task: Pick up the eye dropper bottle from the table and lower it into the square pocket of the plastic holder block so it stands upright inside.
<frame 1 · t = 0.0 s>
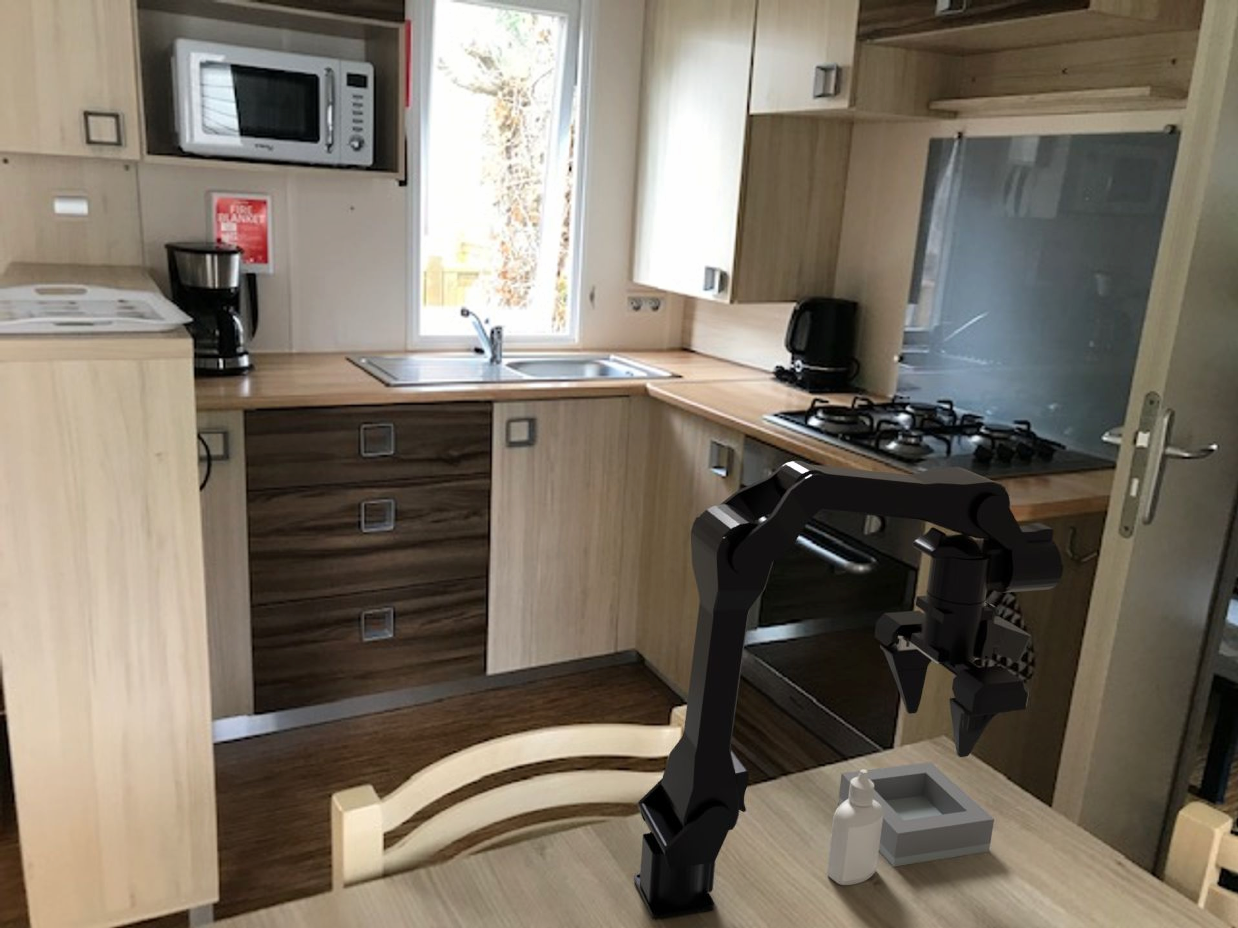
hand: (936, 733, 106), 15 cm above the table, tool pointing down, fingers open, 9 cm apart
holder block: (911, 826, 115), on the table
eye dropper bottle: (851, 874, 106), on the table
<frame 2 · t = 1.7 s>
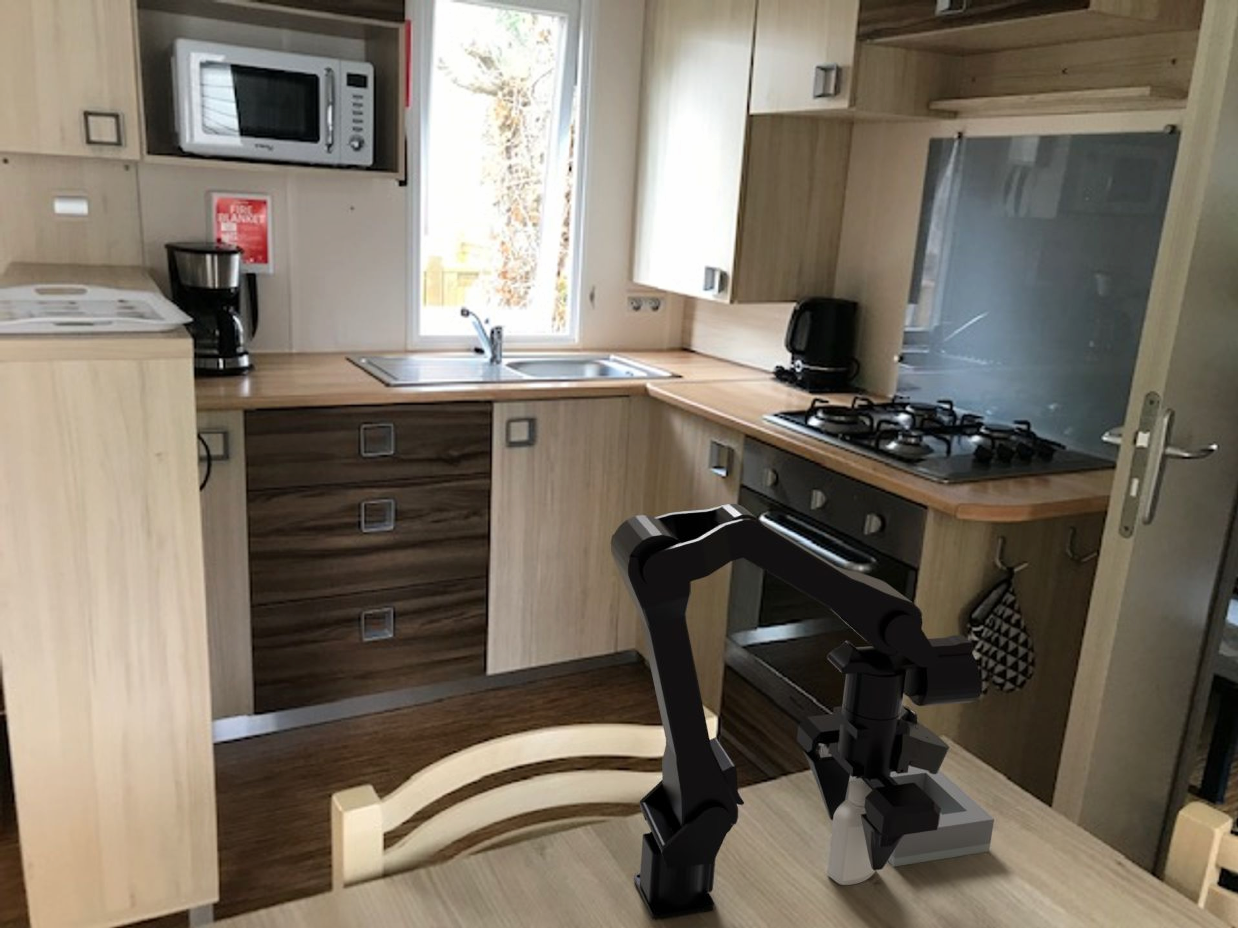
hand: (855, 843, 105), 4 cm above the table, tool pointing down, fingers closed on eye dropper bottle, 8 cm apart
eye dropper bottle: (851, 874, 106), on the table, touching gripper
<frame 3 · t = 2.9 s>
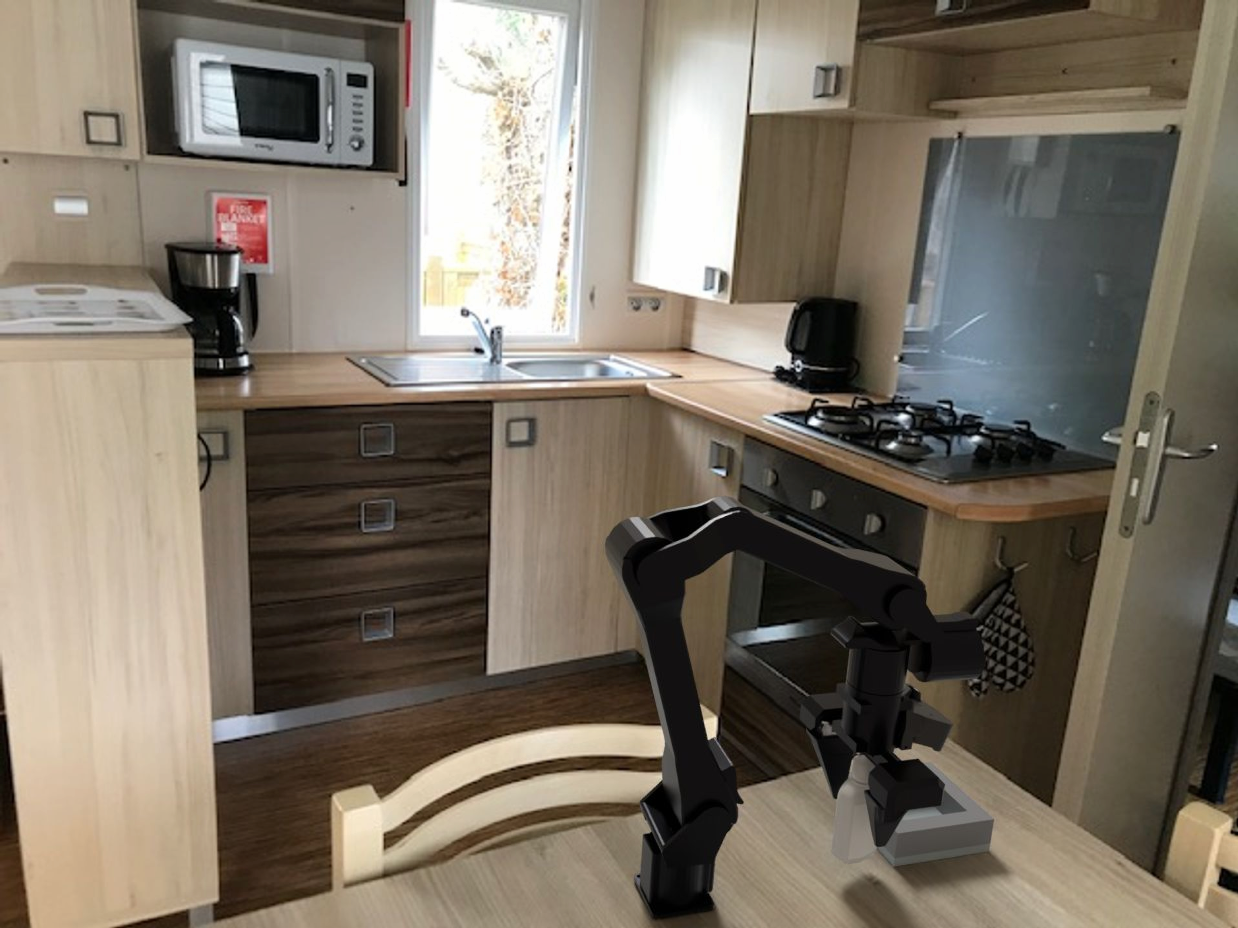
hand: (858, 820, 105), 6 cm above the table, tool pointing down, fingers closed on eye dropper bottle, 8 cm apart
eye dropper bottle: (854, 853, 106), point 2 cm above the table, touching gripper
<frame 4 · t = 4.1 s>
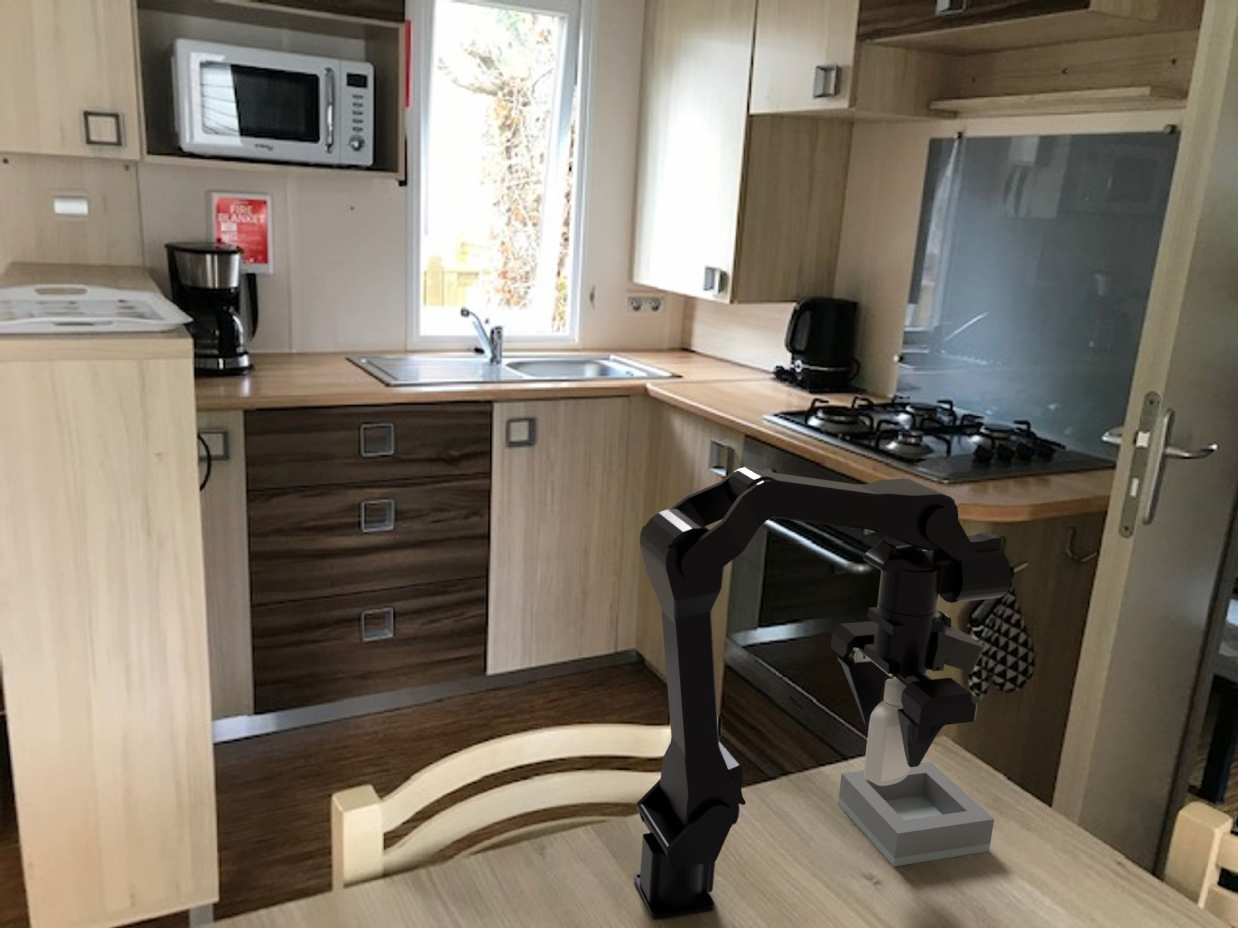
hand: (890, 744, 106), 13 cm above the table, tool pointing down, fingers closed on eye dropper bottle, 8 cm apart
eye dropper bottle: (886, 776, 107), point 10 cm above the table, touching gripper
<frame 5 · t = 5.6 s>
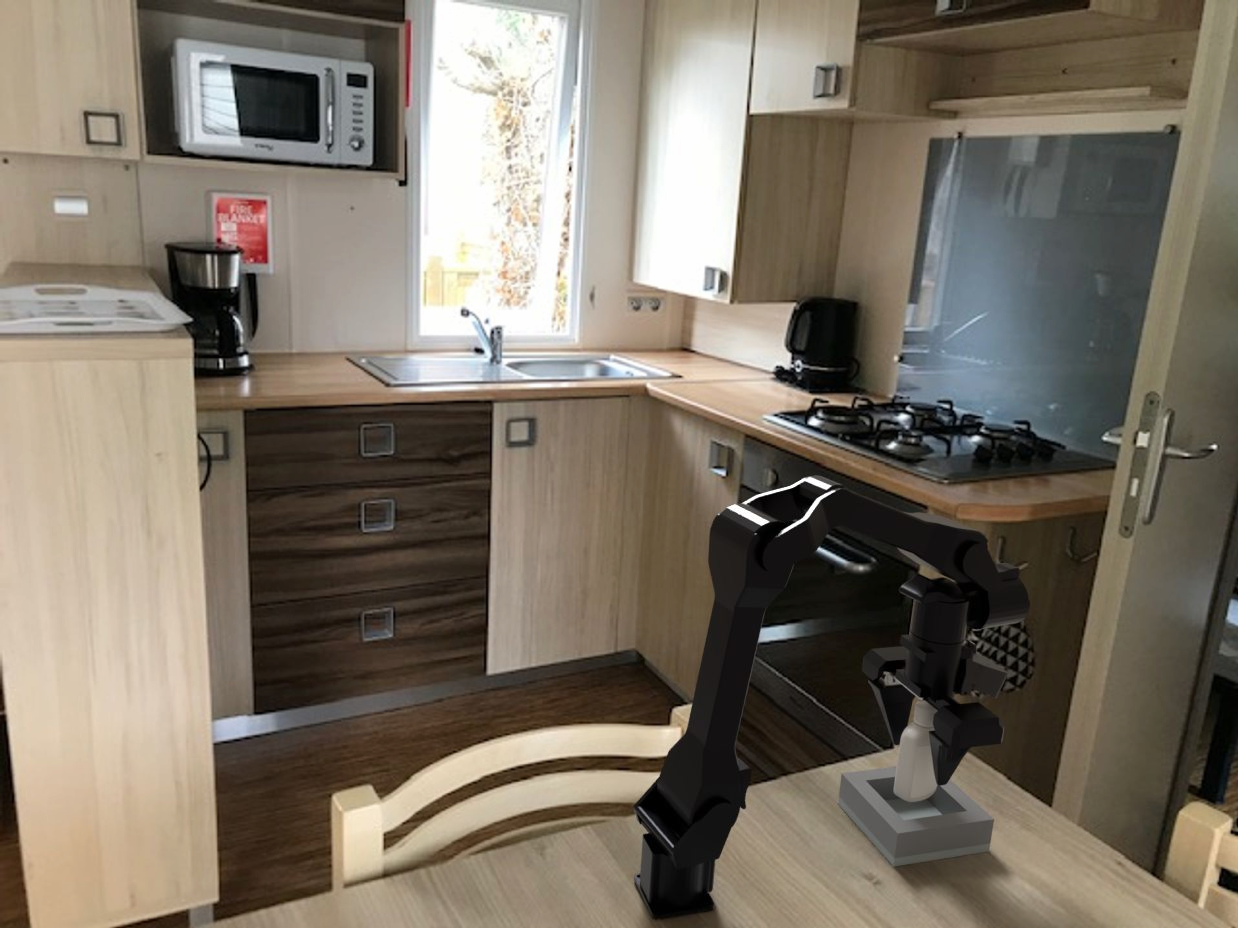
hand: (918, 763, 113), 8 cm above the table, tool pointing down, fingers closed on eye dropper bottle, 8 cm apart
eye dropper bottle: (914, 793, 114), point 4 cm above the table, touching gripper
when the fingers open (5 cm above the table, at t = 6.8 s): eye dropper bottle stays where it is, resting on holder block.
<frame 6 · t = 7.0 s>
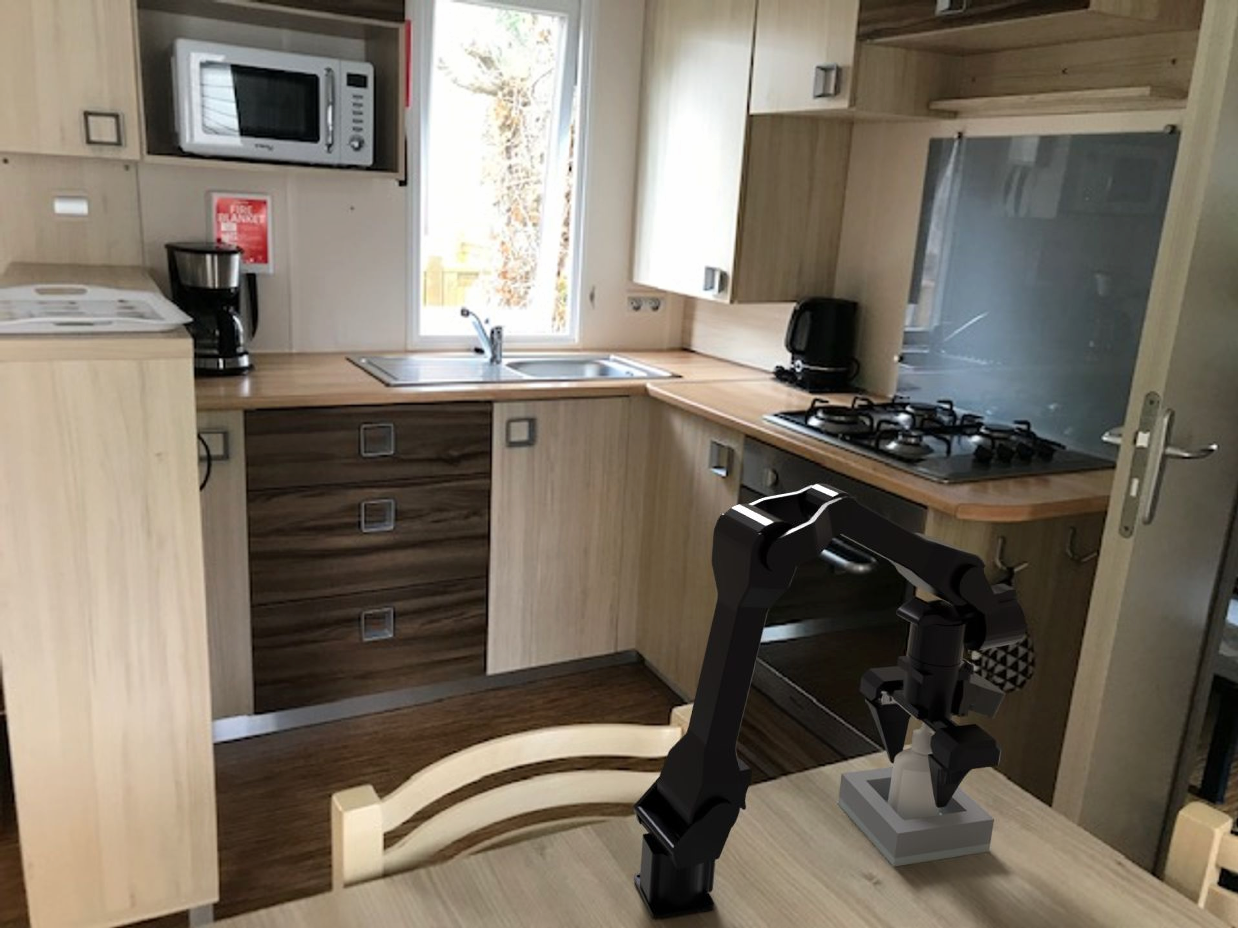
hand: (916, 783, 114), 5 cm above the table, tool pointing down, fingers open, 9 cm apart
eye dropper bottle: (911, 819, 115), point 1 cm above the table, touching holder block
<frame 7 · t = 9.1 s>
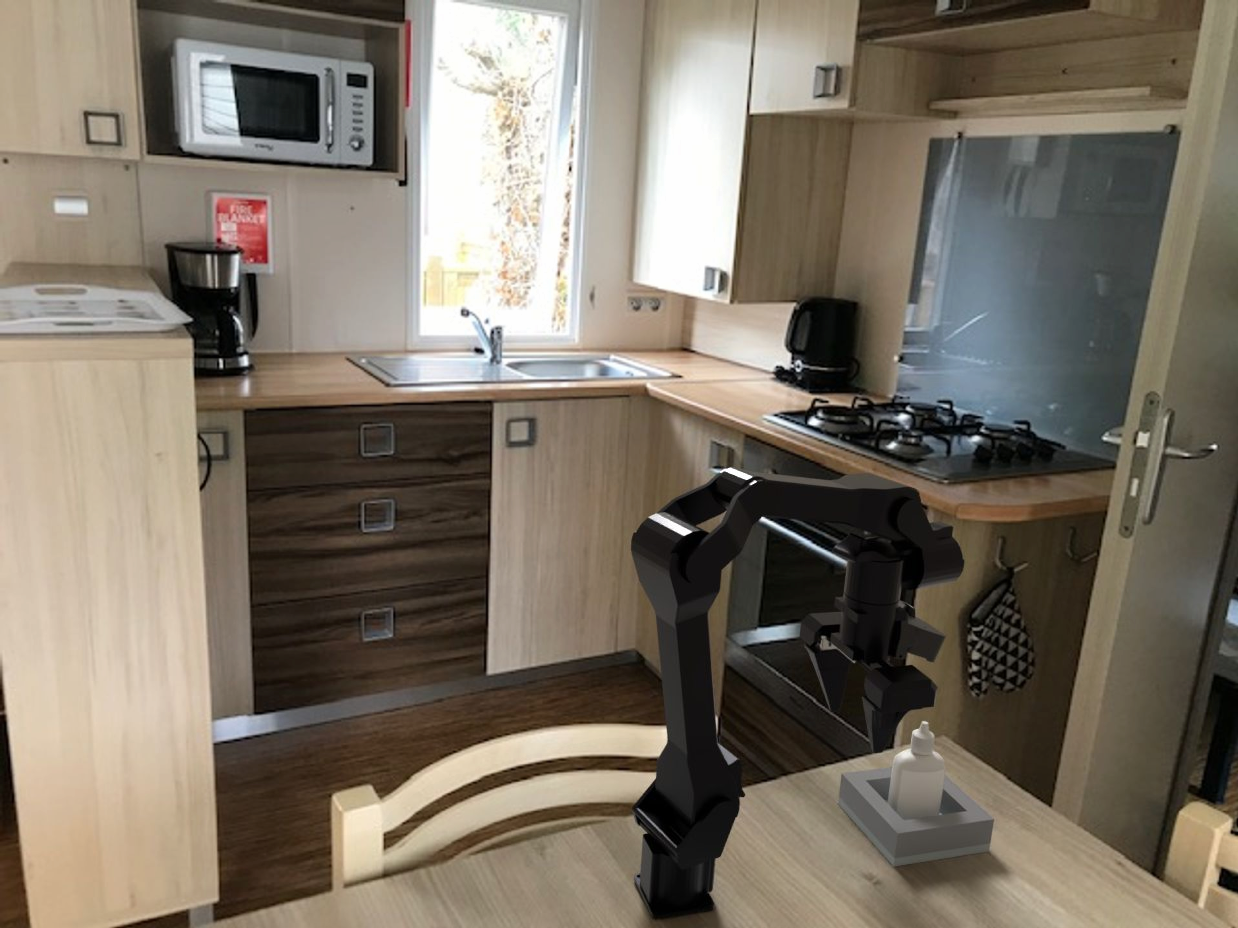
hand: (855, 730, 110), 13 cm above the table, tool pointing down, fingers open, 9 cm apart
nothing on the table moved.
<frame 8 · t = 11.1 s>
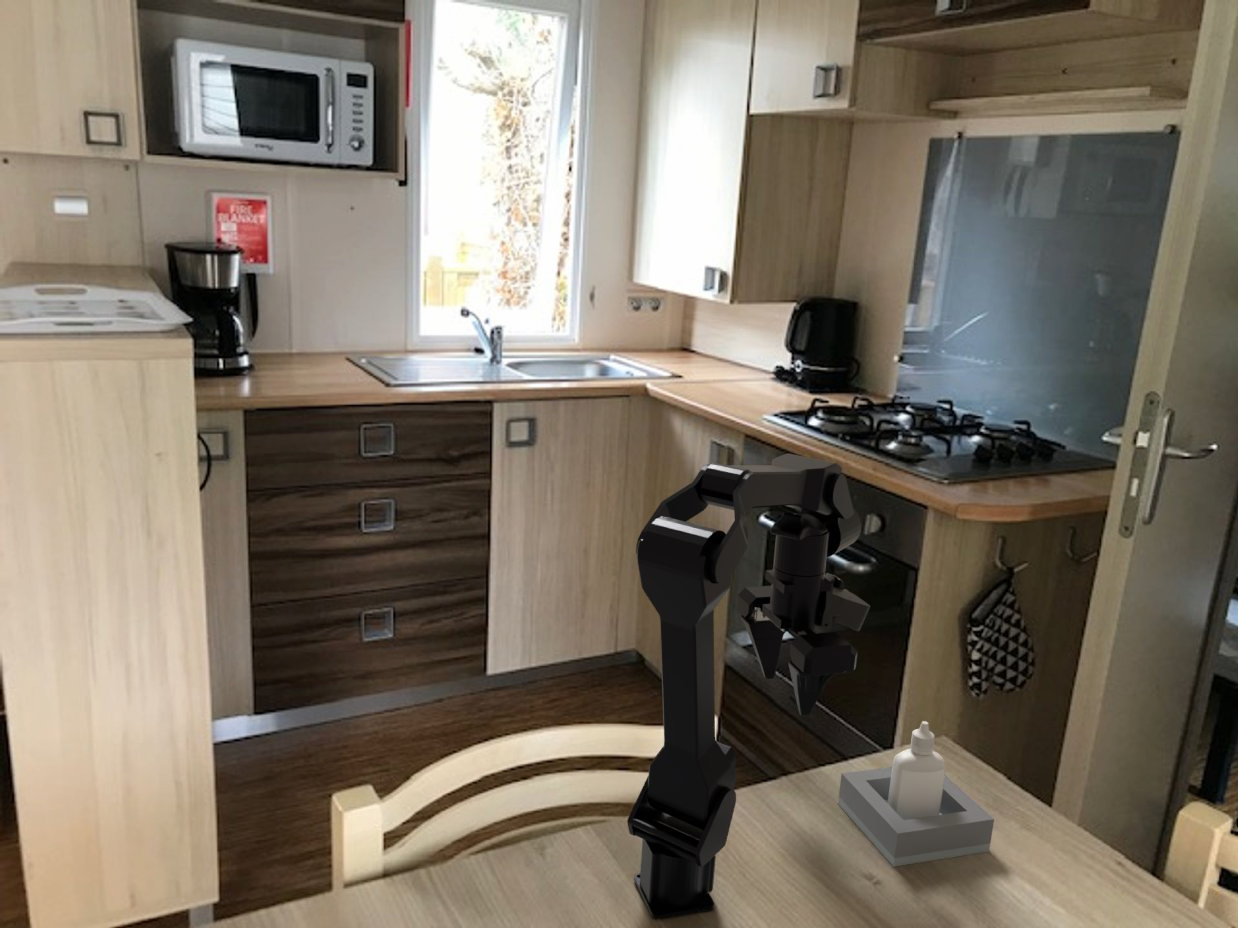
hand: (786, 695, 116), 13 cm above the table, tool pointing down, fingers open, 9 cm apart
nothing on the table moved.
at the end: eye dropper bottle 0.0 cm off-centre on the holder block, point 0.8 cm above the holder block's base; eye dropper bottle tilted 0°; the gripper is holding nothing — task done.
